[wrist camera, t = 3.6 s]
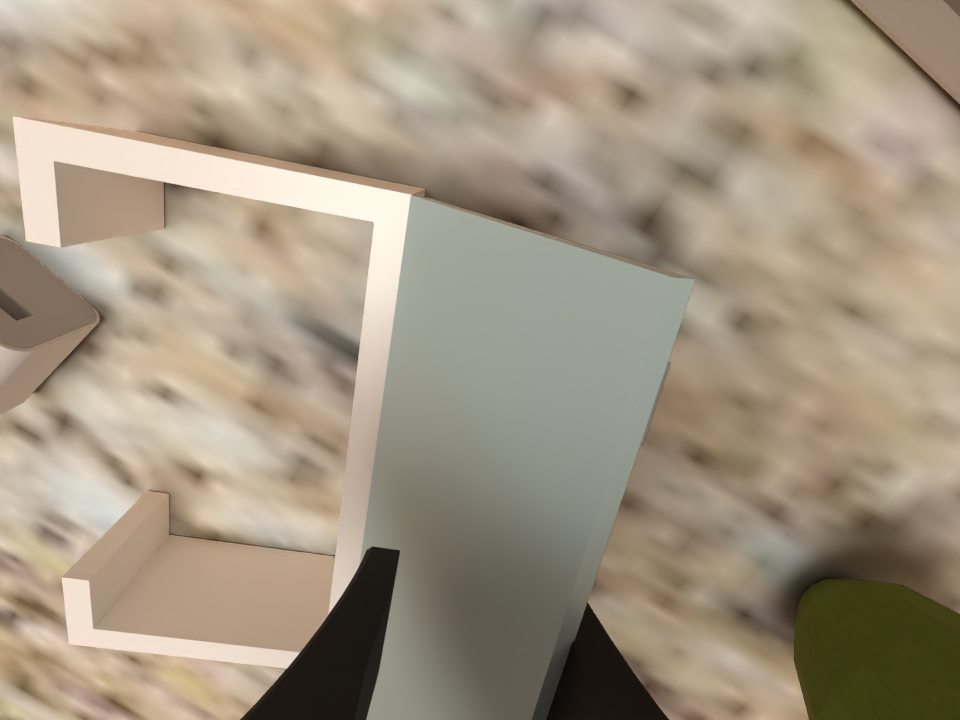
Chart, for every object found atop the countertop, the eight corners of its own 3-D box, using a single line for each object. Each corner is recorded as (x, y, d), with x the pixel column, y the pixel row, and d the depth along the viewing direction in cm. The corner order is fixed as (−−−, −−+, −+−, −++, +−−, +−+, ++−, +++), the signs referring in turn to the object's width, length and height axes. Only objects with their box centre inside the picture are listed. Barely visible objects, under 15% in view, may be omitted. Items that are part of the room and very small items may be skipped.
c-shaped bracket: (368, 575, 22) (345, 674, 18) (149, 547, 21) (68, 643, 17) (425, 188, 17) (411, 195, 12) (136, 131, 16) (12, 116, 12)
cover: (343, 680, 17) (368, 670, 18) (456, 955, 12) (487, 928, 12) (411, 194, 12) (443, 200, 13) (672, 277, 7) (712, 280, 7)
